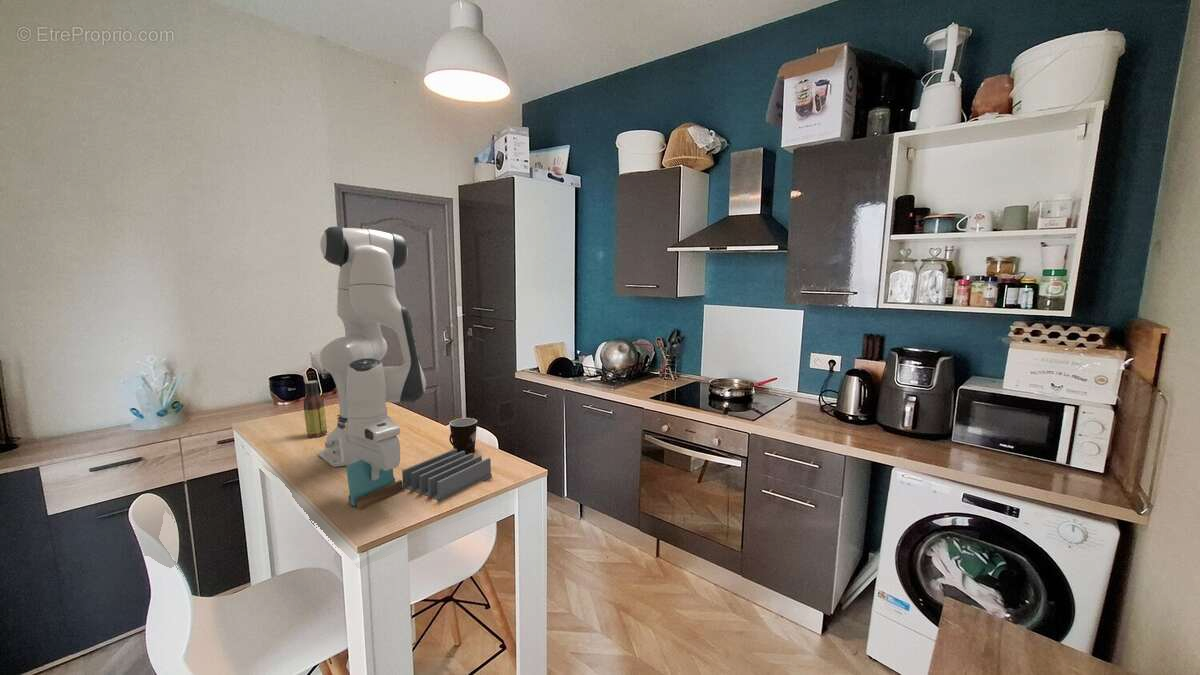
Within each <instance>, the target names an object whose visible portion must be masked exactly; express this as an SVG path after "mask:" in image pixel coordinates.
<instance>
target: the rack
mask: <svg viewBox="0 0 1200 675" xmlns="http://www.w3.org/2000/svg"><path fill="white" fill-rule="evenodd" d="M482 457H483V456H482V455H476V456H474V452H473V453H470V454H468V455H465V451H461V452H459V453H457V449H454V448H453V449H450V450H448V451H445V452H443V453H441V454H438V455H436V456H434V457H431V458H428V459H427V460H423V461H421V462H419V463H417V464H416V463H415V464H414V465H411V466H409V467H407V468H404V469H402V470H401V473H402V484H403V489H404V488H405V489H407V490H410V491H412V492H416V493H418V494H420V495H423V496H427V497H429V498H431V499H435V500H437V501H440V502H441V501H443V500H445V499H447V498H449V497H451V496H453V495H455V494H457V493H459V492H461V491H462V490H465V489H466V488H468V487H470V486H472V485H474V484H476V483H479V482H480V481H481V482H485V481H487V480H489V479H490V478H493V474H492V468H491V466H492V465H491V461H492V459H491V457H487V458H485V459H483V458H482Z"/></svg>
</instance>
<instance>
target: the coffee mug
mask: <svg viewBox="0 0 1200 675" xmlns="http://www.w3.org/2000/svg"><path fill="white" fill-rule="evenodd" d="M477 426H478V420H477V419H475V418H471V417H462V418H456V419H453V420H451V421H450V422H449V428H450V434H449V443H450V445H452V447H453V449H457V453H459V452H461V451H465V456H466V455H468V454H470V453H473V454H474V452H475V450H476V449H475V448H476V441H477V440H476V439H477V438H476V437H477V428H478V427H477Z"/></svg>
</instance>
